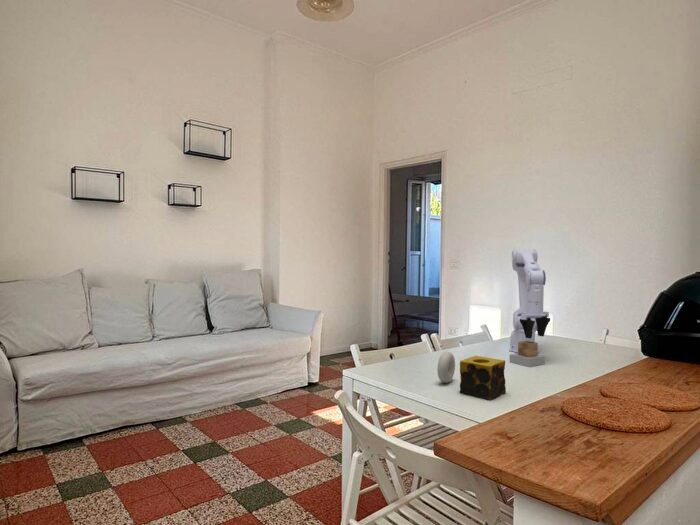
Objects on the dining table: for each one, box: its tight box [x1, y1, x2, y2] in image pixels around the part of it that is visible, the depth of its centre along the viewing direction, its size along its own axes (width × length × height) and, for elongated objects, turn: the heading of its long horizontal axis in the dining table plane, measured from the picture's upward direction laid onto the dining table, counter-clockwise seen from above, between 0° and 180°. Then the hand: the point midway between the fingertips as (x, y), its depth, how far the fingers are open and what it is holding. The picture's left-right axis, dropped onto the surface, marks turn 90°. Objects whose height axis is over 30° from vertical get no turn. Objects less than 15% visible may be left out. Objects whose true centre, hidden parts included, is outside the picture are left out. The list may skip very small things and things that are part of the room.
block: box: [518, 341, 539, 358], centre depth 174 cm, size 5×5×5 cm
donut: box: [436, 351, 456, 384], centre depth 148 cm, size 10×4×10 cm, turn 148°
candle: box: [459, 355, 507, 401], centre depth 137 cm, size 10×10×10 cm
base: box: [509, 352, 546, 368], centre depth 174 cm, size 9×9×3 cm
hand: (534, 337), depth 175 cm, fingers open, 7 cm apart
